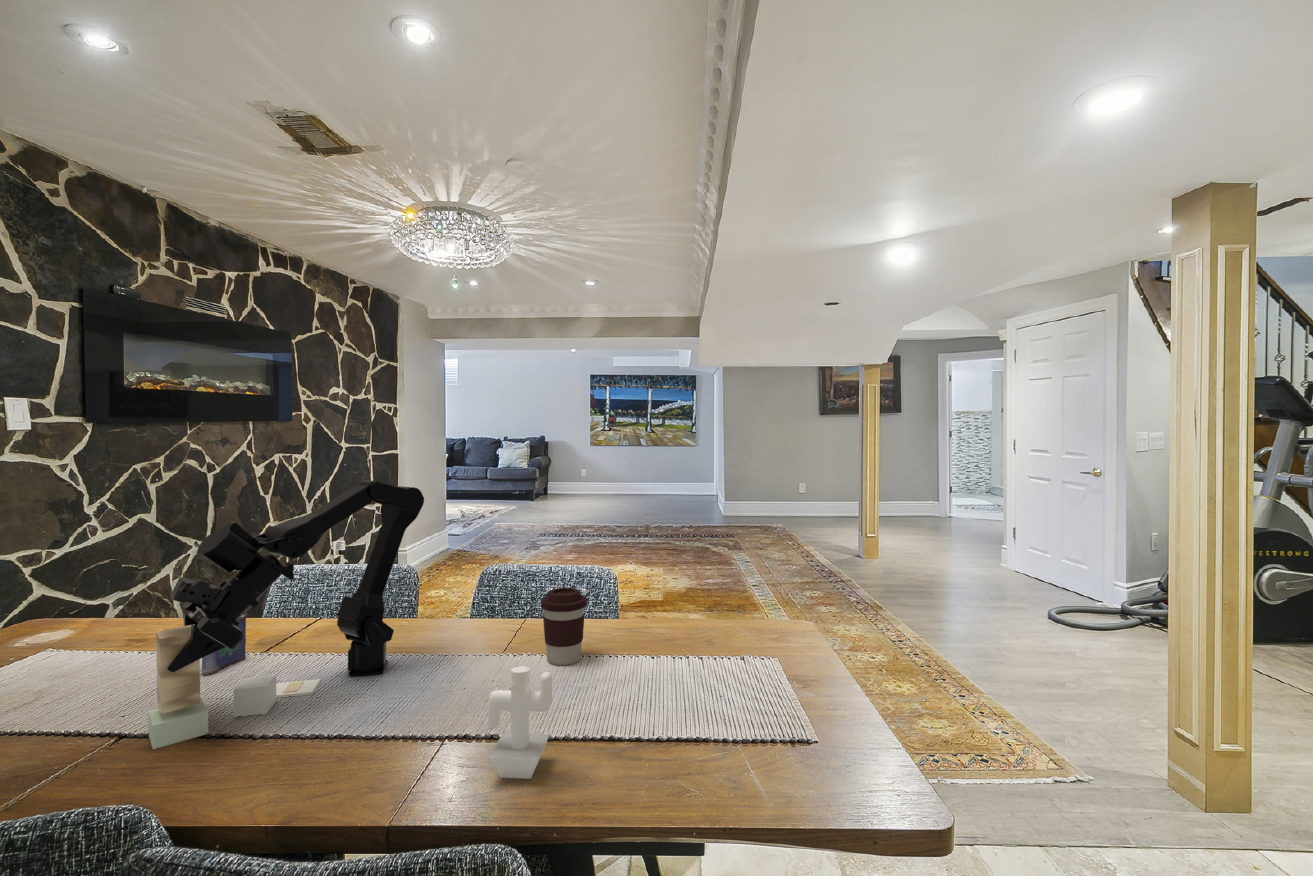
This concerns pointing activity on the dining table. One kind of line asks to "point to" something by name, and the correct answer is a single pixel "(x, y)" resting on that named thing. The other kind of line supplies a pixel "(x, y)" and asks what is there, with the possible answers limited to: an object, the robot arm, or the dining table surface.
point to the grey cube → (255, 695)
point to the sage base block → (177, 725)
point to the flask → (226, 654)
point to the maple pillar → (180, 684)
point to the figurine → (519, 724)
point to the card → (296, 688)
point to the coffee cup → (563, 625)
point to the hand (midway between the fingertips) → (167, 666)
